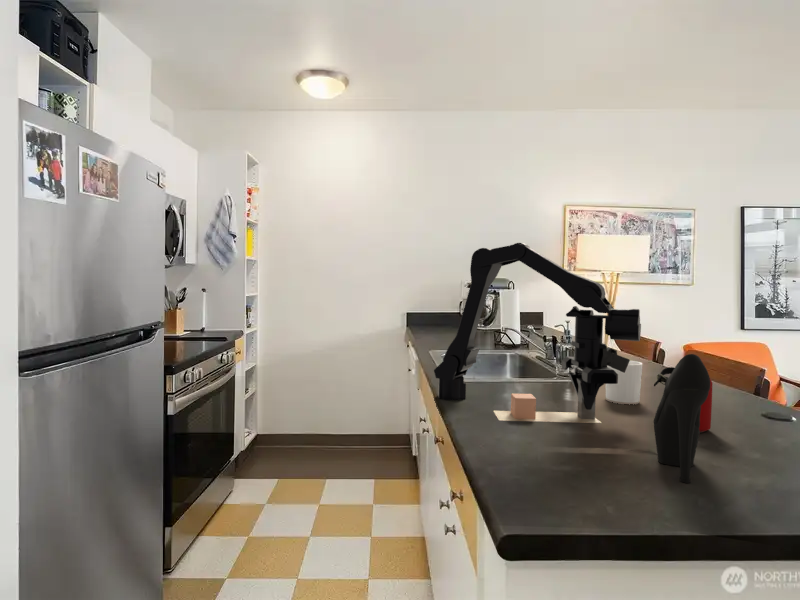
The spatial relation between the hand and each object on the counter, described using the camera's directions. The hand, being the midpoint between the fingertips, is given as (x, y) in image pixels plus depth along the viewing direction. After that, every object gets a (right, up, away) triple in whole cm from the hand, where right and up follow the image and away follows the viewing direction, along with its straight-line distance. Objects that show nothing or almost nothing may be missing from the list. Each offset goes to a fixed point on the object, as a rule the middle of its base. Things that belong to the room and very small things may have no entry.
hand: (586, 407), depth 109 cm
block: (-14, -2, +1) cm, 14 cm away
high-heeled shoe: (+5, -4, -26) cm, 27 cm away
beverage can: (+21, -4, -5) cm, 22 cm away
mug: (+17, -3, +21) cm, 27 cm away
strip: (-9, -3, 0) cm, 9 cm away
